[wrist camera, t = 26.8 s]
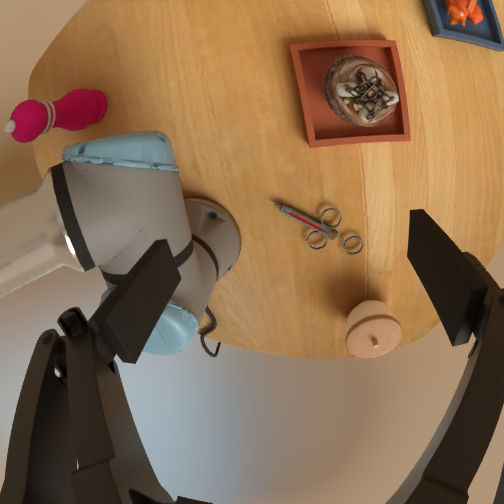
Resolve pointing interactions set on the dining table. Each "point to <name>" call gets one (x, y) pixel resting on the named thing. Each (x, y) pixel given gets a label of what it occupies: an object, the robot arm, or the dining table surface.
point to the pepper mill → (56, 114)
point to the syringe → (317, 226)
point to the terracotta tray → (315, 107)
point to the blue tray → (466, 25)
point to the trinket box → (372, 329)
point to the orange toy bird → (463, 11)
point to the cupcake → (360, 91)
